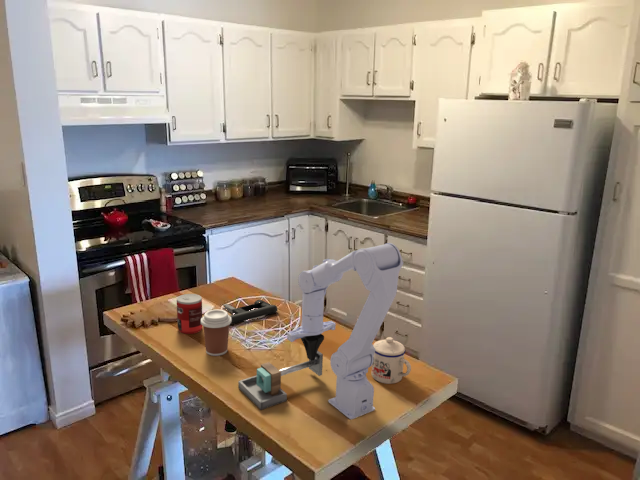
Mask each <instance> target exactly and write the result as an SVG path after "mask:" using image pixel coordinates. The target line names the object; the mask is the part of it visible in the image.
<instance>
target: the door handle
mask: <svg viewBox="0 0 640 480" xmlns="http://www.w3.org/2000/svg"><path fill="white" fill-rule="evenodd" d="M259 302H260V303H259ZM223 306H225V309H227V310H228V311H230V312H231V313H232V314H233V313H235V314H234V315H232V314H231V313H230V312H229V313H230V315H229V316H230V317H231V319H232V322H231V323H230V324H229V326H231V325H234V323H235V324H238V323H242V322H243V321H246V320H248V319H251V321H253V320H252V319H255V320H258V319H262V318H265V317H266V316H269V315H273V314H276V313H277V312H278V307H277V306H276V305H275V304H270V303H269V302H266V301H264V300H262V299H257V300H255V301H254V302H253V303H252V304H249V305H248V304H247V305H244V306H241V307H240V306H239V307H237V308H236V307H234V306H232V305H230V304H228V303H224V304H222V307H223ZM253 308H258V309H254V310H251V309H253ZM225 309H224V310H225ZM227 310H226V311H227ZM249 310H250V311H249ZM228 311H227V312H228ZM268 314H269V315H268ZM257 318H258V319H257ZM243 323H244V322H243Z"/></svg>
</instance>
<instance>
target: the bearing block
mask: <svg viewBox="0 0 640 480" xmlns="http://www.w3.org/2000/svg"><path fill="white" fill-rule="evenodd" d="M261 367H262V368H263V369H265V370H266V371H267V372H268V373H269V374H270V375H271V391H269V392H268V393H269V394H270V395H272V396H274V395H277V394H279V389H282V388H281V386H282V385H281V383H282V376H281V371H279V370H280V369H278V368H277V367H276V366H275V365H273V364H272V363H271V362H270V361H268V362H264V363H262V364H261V363H260V368H261Z"/></svg>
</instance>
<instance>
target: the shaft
mask: <svg viewBox="0 0 640 480" xmlns="http://www.w3.org/2000/svg"><path fill="white" fill-rule="evenodd" d="M323 356H324V353H322V352H320V351H319V350H318V351H317V354H316V357H315V360H312V361H311V360H309V359H308V360H307V361H304V362H301V363H300V362H299V363H298V364H294V365H291V366H288V367H284V368H281V369H278V370H279V371H281V377H283V376H286V375H289V374H292V373H295V372H299V371H302V370H304V369H307V368H308V369H309V370H310V371H312V372H313V373H314V374H316V375H317V376H318V377H319V376H323V363H324V362H323V359H324V358H323ZM261 379H262V381H263V382H264V378H262V377H261Z"/></svg>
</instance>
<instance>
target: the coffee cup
mask: <svg viewBox="0 0 640 480" xmlns="http://www.w3.org/2000/svg"><path fill="white" fill-rule="evenodd" d="M228 313H229V312H228V311H227V310H225V309H209V310H207V311H206V312H205V313H204V314H203V315H202V318H201V324H202V329H203V336H204V345H205V346H204V347H205V353H206V354H207V355H209V356H212V357H213V356H215V357H219V356H223V355H225V354H226V353H227V352H228V348H229V347H228V346H229V335H230V333H229V332H230V323H231V322H232V319H231V317H230V315H229V314H228Z"/></svg>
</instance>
